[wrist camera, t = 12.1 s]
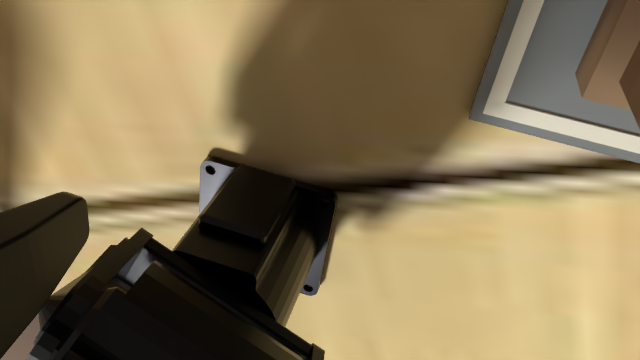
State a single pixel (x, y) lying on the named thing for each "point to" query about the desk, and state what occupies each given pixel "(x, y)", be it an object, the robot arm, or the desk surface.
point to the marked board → (550, 80)
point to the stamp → (613, 58)
